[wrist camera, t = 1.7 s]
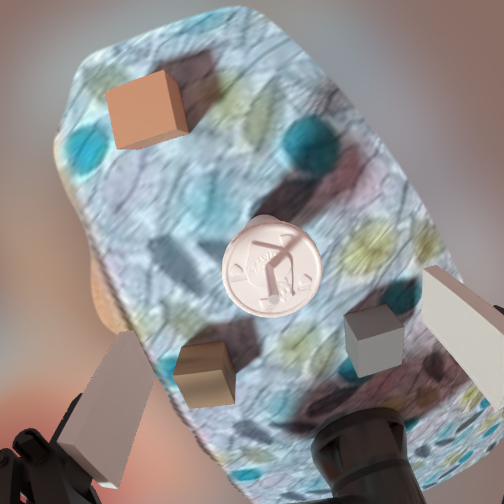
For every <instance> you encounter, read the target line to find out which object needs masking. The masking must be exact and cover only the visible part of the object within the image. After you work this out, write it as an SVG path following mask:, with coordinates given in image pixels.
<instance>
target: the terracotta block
mask: <svg viewBox="0 0 504 504" xmlns="http://www.w3.org/2000/svg"><path fill="white" fill-rule="evenodd" d="M106 98H107V103H108V109H109V114H110V119H111V124H112V129H113V134H114V139H115V143H116V148H117V149H132V150H139V149H142V148H145V147H148V146H151V145H154V144H157V143H160V142H163V141H167V140H170V139H173V138H177V137H180V136H184V135H187V134H189V130H188V125H187V121H186V117H185V112H184V108H183V103H182V99H181V94H180V90H179V85H178V83H177V82H176V81H175V80H174V79H173V78H172V77H171V76H170V75H169V74H168V73H167V72H166V71H165V70H161V71H158V72H155V73H153V74H150V75H147V76H144V77H141V78H139V79H136V80H133V81H131V82H128V83H126V84H123V85H121V86H118V87H116V88H113V89H111V90H109V91H106Z"/></svg>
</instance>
